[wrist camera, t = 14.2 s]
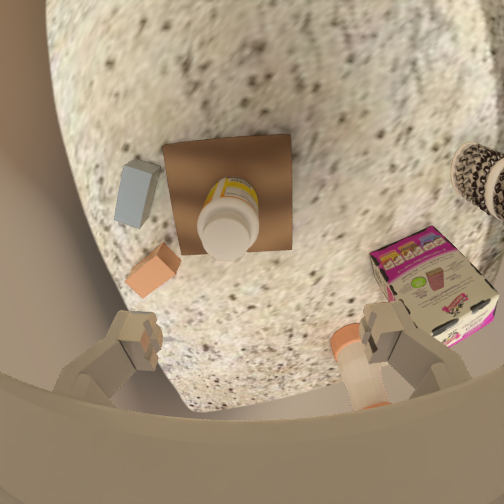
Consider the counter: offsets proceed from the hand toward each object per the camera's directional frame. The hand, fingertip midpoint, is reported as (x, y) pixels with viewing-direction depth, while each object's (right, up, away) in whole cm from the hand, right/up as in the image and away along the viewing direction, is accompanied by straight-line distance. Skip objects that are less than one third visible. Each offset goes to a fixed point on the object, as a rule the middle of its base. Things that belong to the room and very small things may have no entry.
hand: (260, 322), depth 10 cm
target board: (-3, +9, +22) cm, 24 cm away
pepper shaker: (+17, -12, +35) cm, 41 cm away
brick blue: (-14, +11, +22) cm, 28 cm away
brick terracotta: (-14, +1, +27) cm, 31 cm away
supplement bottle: (-2, +9, +21) cm, 23 cm away
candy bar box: (+22, +3, +26) cm, 34 cm away
